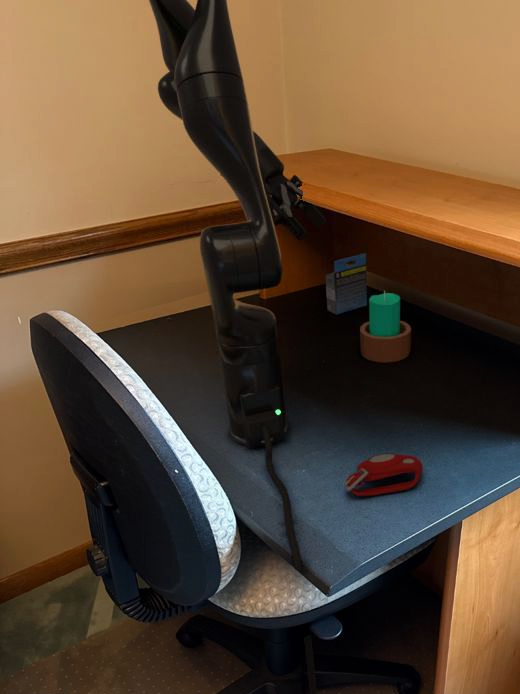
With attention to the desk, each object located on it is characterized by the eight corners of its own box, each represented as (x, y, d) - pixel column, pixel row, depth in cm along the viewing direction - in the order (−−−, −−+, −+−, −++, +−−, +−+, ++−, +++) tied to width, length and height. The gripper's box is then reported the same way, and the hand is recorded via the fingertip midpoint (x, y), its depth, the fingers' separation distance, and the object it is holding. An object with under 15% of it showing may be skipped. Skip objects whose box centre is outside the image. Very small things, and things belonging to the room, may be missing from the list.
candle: (400, 342, 137) (401, 285, 130) (398, 355, 132) (399, 296, 125) (371, 342, 137) (370, 284, 130) (368, 354, 133) (367, 296, 125)
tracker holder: (363, 449, 104) (425, 444, 100) (368, 476, 105) (429, 472, 101) (335, 476, 93) (403, 473, 89) (341, 506, 94) (408, 503, 91)
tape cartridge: (357, 301, 158) (356, 248, 150) (367, 306, 155) (367, 252, 148) (326, 310, 153) (323, 256, 146) (336, 315, 151) (333, 261, 144)
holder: (418, 356, 133) (419, 333, 130) (373, 366, 130) (372, 342, 127) (396, 338, 140) (397, 315, 137) (353, 346, 137) (352, 323, 134)
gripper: (244, 152, 114) (309, 227, 117) (282, 139, 125) (341, 207, 128) (221, 184, 119) (285, 255, 122) (260, 168, 129) (317, 234, 132)
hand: (313, 230), depth 125 cm, fingers open, 8 cm apart
